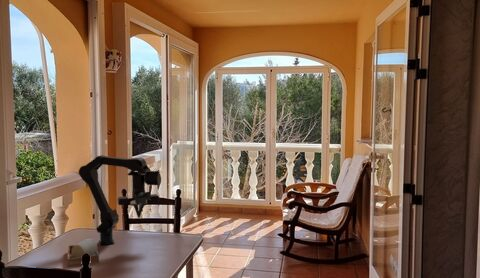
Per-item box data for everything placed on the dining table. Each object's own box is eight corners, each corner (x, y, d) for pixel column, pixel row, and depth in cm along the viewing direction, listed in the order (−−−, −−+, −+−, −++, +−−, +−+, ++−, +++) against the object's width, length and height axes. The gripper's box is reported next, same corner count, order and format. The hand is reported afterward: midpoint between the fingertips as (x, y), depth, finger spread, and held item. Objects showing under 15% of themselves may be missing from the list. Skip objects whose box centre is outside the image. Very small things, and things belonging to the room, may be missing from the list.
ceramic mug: (70, 260, 162) (69, 242, 162) (84, 253, 170) (84, 236, 169) (89, 264, 158) (89, 246, 158) (103, 257, 166) (103, 240, 165)
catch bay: (68, 252, 171) (67, 245, 171) (96, 248, 176) (96, 242, 176) (67, 266, 155) (67, 259, 155) (98, 262, 160) (98, 255, 160)
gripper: (119, 189, 170) (120, 224, 171) (162, 186, 177) (162, 219, 178) (117, 184, 180) (117, 217, 181) (157, 182, 187) (157, 214, 188)
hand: (138, 217), depth 182 cm, fingers closed
